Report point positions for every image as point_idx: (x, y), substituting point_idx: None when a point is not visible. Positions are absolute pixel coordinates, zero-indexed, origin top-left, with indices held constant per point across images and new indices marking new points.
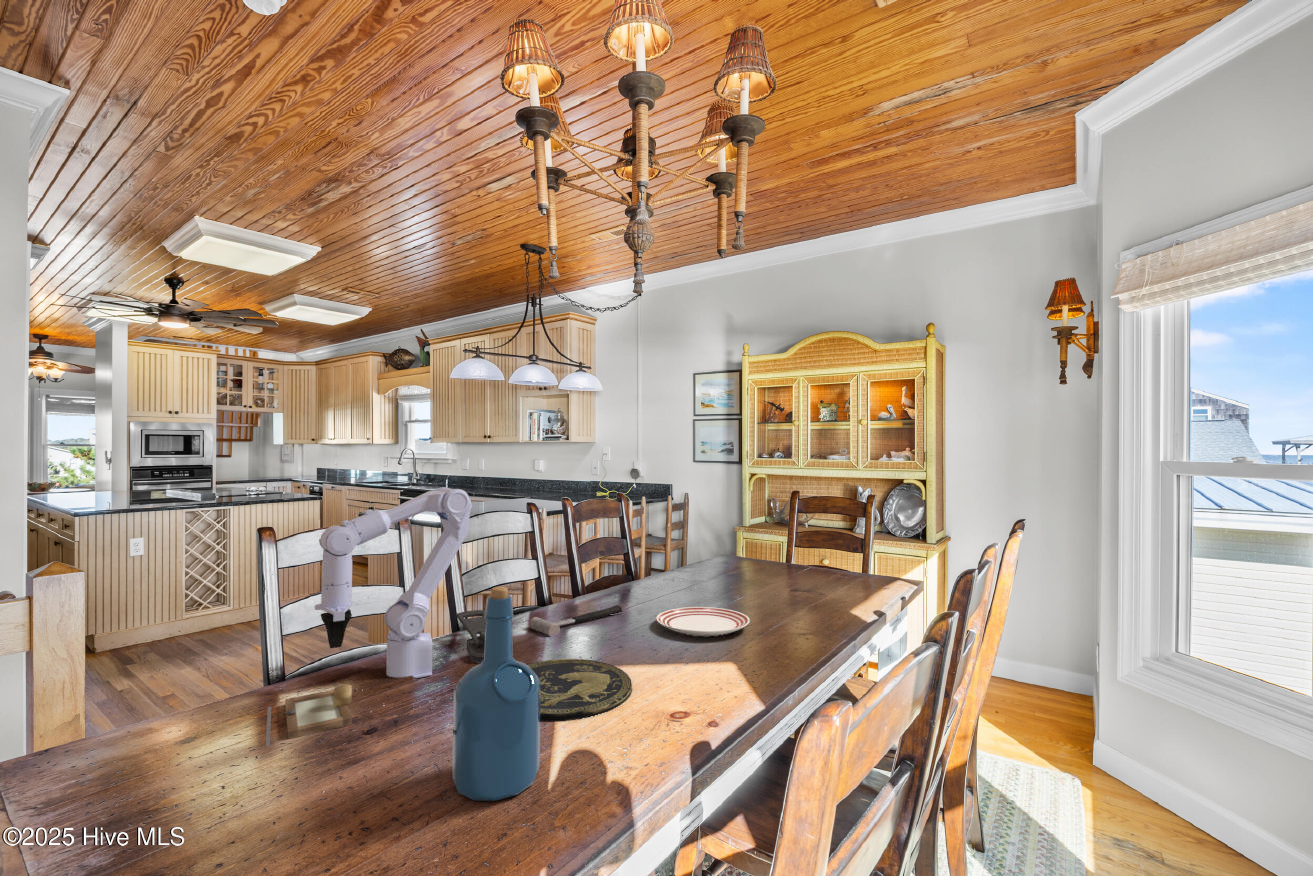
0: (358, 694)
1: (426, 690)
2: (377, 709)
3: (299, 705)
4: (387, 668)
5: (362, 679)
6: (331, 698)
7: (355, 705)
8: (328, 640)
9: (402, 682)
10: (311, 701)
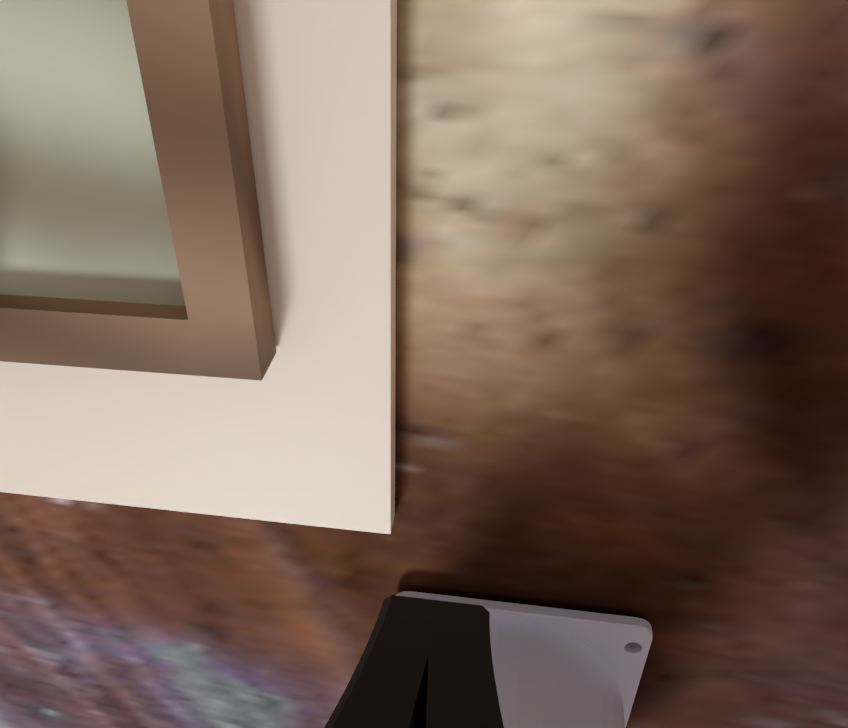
0: None
1: (197, 680)
2: None
3: (54, 8)
4: (494, 673)
5: (616, 504)
6: (136, 275)
7: None
8: (346, 698)
9: None
10: (124, 122)
